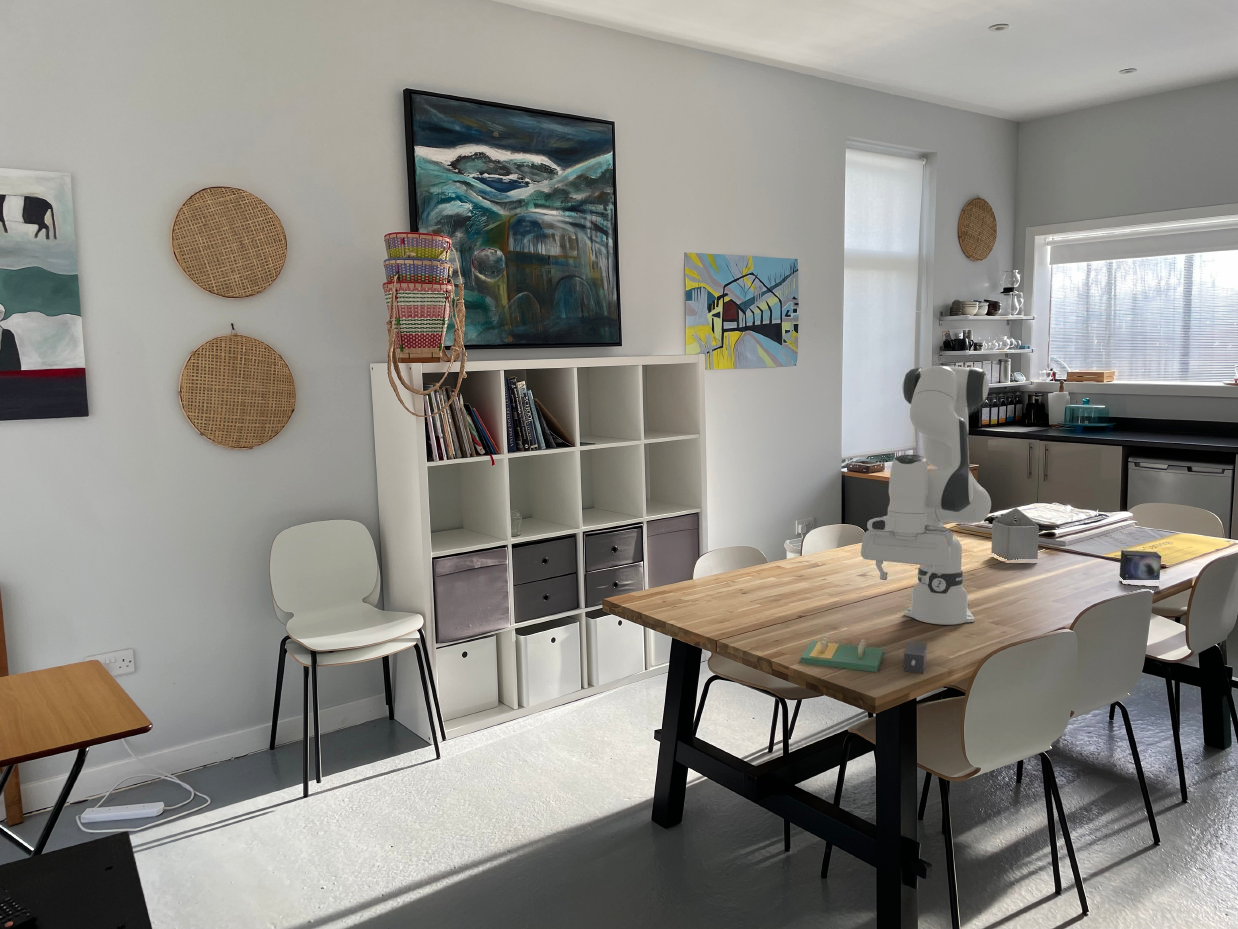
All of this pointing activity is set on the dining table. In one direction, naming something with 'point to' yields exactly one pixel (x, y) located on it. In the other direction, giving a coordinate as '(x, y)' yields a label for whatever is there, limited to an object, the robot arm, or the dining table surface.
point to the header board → (843, 655)
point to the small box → (1140, 565)
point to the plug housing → (915, 657)
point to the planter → (1015, 536)
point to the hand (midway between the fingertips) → (903, 581)
